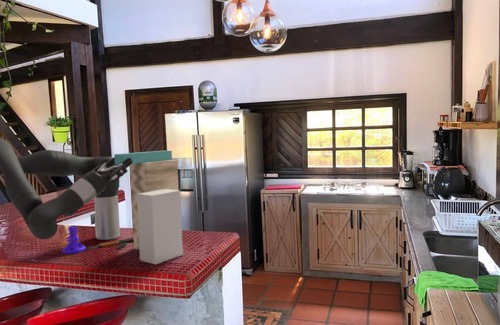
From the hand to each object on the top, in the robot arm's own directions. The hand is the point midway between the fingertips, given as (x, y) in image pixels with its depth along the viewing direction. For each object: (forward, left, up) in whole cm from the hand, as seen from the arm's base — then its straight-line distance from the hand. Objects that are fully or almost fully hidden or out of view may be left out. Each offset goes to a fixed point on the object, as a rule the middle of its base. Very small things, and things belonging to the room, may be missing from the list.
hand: (123, 159), depth 137 cm
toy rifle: (-13, +6, -34) cm, 37 cm away
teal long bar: (0, +9, -2) cm, 9 cm away
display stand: (0, +13, -34) cm, 36 cm away
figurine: (-22, -8, -34) cm, 41 cm away
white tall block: (+12, +5, -34) cm, 36 cm away
